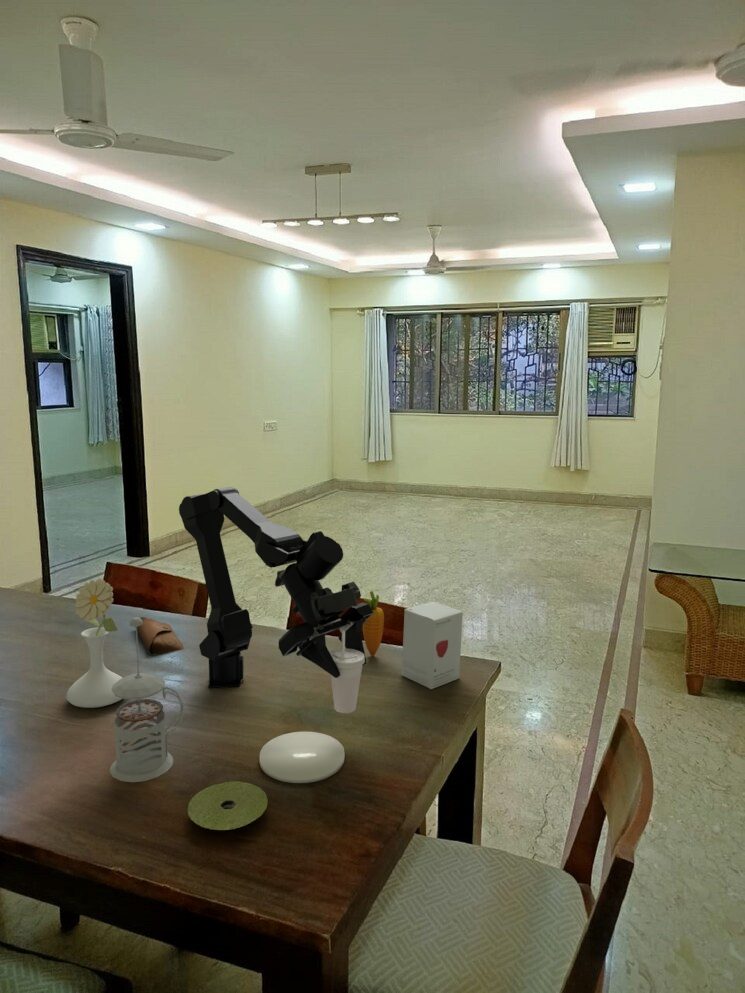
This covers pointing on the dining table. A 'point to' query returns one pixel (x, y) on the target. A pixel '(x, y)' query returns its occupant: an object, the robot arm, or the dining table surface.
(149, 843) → the dining table surface
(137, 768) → the french press
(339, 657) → the smoothie
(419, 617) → the supplement box
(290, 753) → the plate
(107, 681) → the flower in vase
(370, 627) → the carrot
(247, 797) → the green disc
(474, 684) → the dining table surface
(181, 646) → the sunglasses case
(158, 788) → the dining table surface
